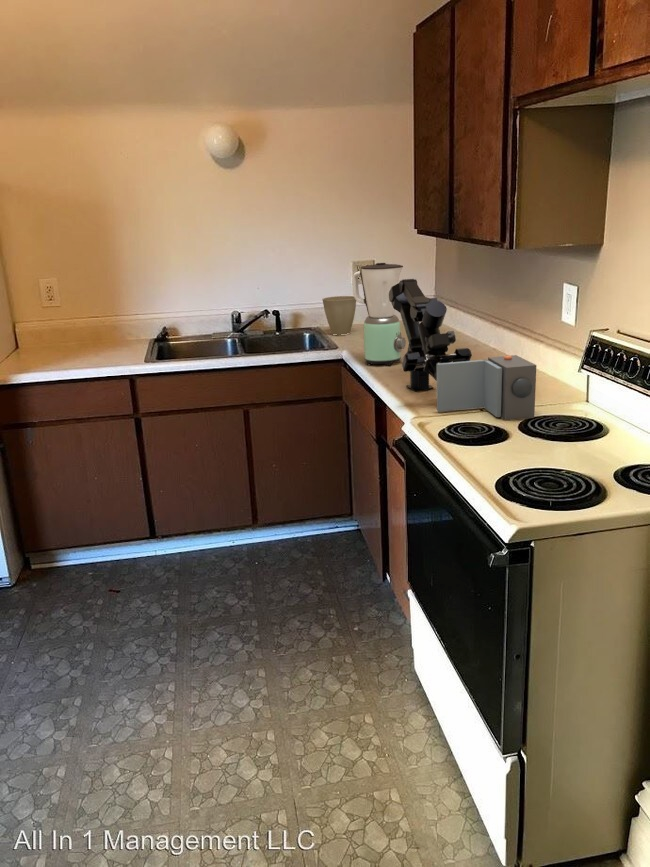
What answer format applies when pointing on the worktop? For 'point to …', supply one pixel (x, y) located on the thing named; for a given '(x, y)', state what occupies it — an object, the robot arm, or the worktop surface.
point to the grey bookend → (469, 386)
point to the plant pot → (340, 313)
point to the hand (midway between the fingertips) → (443, 385)
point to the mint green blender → (380, 313)
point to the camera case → (516, 387)
